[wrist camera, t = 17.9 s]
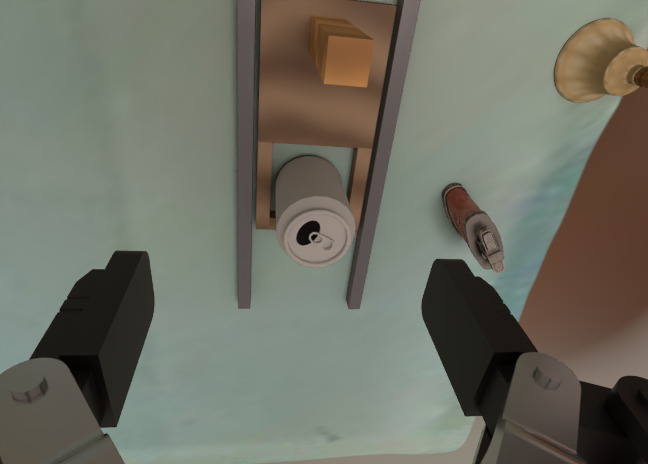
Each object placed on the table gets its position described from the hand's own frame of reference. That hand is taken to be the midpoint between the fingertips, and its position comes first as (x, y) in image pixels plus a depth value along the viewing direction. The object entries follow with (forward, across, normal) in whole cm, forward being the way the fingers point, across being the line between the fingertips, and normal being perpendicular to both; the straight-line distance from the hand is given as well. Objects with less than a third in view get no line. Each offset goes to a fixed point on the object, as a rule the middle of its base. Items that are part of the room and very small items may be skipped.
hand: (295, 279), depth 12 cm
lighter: (+34, -23, +16) cm, 44 cm away
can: (+34, -4, +13) cm, 37 cm away
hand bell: (+34, -33, -2) cm, 48 cm away
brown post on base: (+34, -4, +6) cm, 35 cm away
